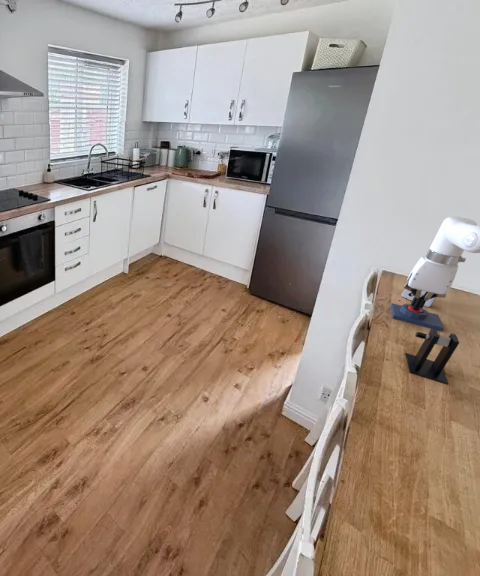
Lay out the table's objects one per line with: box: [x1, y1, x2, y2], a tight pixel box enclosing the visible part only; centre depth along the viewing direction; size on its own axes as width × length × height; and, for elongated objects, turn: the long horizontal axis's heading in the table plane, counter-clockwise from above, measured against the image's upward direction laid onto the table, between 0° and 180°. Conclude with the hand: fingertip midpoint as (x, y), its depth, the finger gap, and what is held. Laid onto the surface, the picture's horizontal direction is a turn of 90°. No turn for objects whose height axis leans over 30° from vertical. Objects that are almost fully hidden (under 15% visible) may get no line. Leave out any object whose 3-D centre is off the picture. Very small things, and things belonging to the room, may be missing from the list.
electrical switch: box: [401, 288, 437, 308], centre depth 134 cm, size 9×5×9 cm, turn 28°
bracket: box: [404, 328, 460, 386], centre depth 97 cm, size 10×8×12 cm
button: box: [407, 306, 423, 313], centre depth 122 cm, size 4×4×2 cm
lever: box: [414, 331, 451, 347], centre depth 99 cm, size 13×5×2 cm, turn 149°
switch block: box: [388, 302, 444, 332], centre depth 122 cm, size 13×10×4 cm
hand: (415, 308), depth 122 cm, fingers closed
